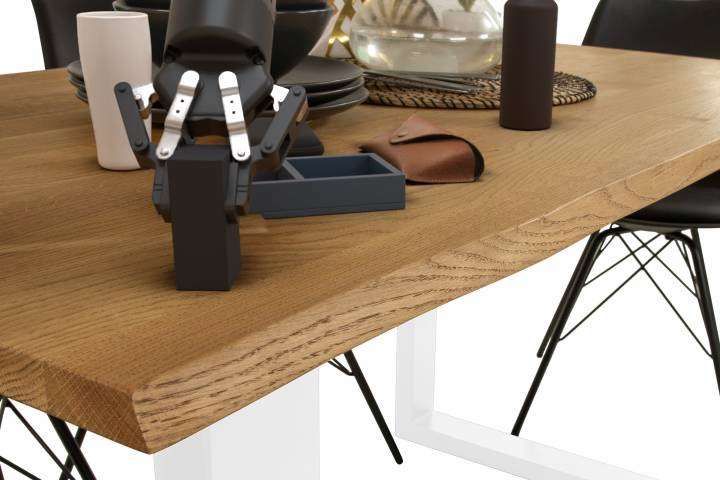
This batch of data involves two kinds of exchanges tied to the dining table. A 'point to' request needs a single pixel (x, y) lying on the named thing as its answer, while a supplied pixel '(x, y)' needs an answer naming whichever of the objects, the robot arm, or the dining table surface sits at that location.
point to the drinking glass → (113, 77)
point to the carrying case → (301, 147)
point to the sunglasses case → (427, 152)
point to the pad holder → (328, 186)
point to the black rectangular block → (202, 218)
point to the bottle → (528, 64)
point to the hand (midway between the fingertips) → (200, 216)
